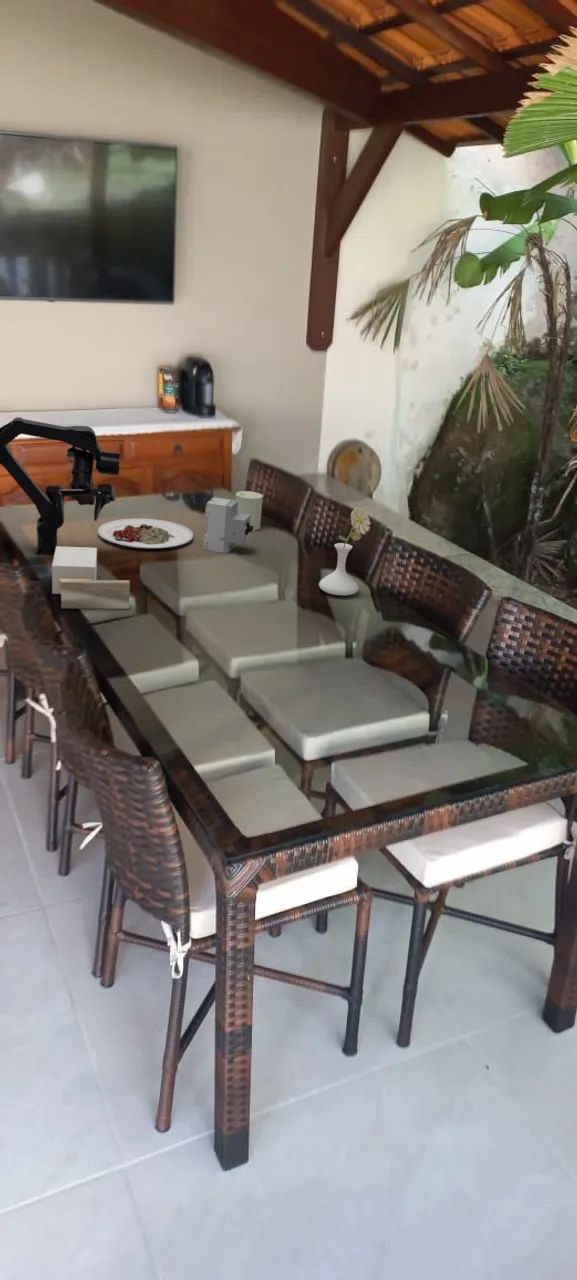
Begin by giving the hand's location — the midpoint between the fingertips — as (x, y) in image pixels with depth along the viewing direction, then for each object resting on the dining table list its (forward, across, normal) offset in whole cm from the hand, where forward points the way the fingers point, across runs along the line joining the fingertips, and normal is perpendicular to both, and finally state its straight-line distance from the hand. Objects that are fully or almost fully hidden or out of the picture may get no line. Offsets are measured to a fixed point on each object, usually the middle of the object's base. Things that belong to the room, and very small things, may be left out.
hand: (78, 520), depth 259 cm
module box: (+20, -1, +3) cm, 20 cm away
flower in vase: (+18, -74, -12) cm, 77 cm away
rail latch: (+26, -4, +14) cm, 30 cm away
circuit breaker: (-4, -40, -32) cm, 51 cm away
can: (-20, -44, -51) cm, 71 cm away
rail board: (+30, -10, +14) cm, 35 cm away
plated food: (-9, -13, -34) cm, 37 cm away
